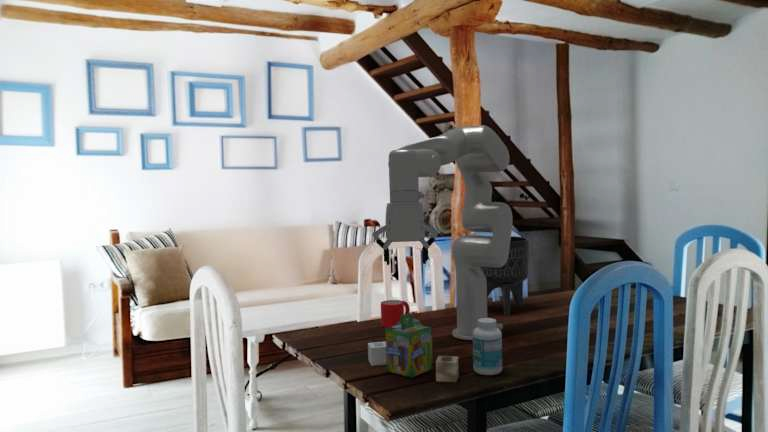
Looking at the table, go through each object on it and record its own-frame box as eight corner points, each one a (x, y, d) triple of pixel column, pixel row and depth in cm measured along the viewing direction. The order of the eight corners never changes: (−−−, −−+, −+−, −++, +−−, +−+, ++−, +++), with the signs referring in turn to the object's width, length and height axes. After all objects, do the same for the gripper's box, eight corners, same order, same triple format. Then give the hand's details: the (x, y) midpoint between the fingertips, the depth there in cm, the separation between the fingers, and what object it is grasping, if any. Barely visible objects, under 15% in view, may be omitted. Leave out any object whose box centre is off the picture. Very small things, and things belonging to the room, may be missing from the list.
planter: (536, 315, 211) (535, 241, 209) (480, 317, 211) (478, 243, 209) (523, 303, 231) (522, 235, 229) (472, 304, 231) (471, 237, 229)
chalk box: (411, 379, 151) (410, 321, 150) (385, 371, 157) (383, 316, 156) (434, 369, 157) (433, 314, 156) (407, 362, 164) (406, 309, 163)
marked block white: (385, 358, 168) (385, 340, 167) (389, 364, 163) (389, 345, 163) (368, 360, 167) (367, 342, 166) (371, 366, 162) (371, 347, 162)
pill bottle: (470, 367, 158) (469, 317, 157) (497, 365, 159) (496, 315, 158) (477, 377, 151) (476, 324, 150) (505, 375, 151) (505, 322, 150)
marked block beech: (458, 375, 152) (458, 355, 152) (456, 382, 147) (455, 362, 147) (439, 374, 153) (438, 354, 153) (436, 381, 149) (435, 361, 148)
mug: (417, 322, 207) (416, 299, 207) (393, 329, 199) (392, 306, 198) (400, 318, 213) (399, 296, 212) (376, 325, 204) (375, 302, 204)
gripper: (436, 196, 158) (437, 260, 159) (370, 198, 158) (372, 262, 159) (439, 197, 150) (441, 265, 152) (370, 199, 150) (372, 267, 151)
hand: (406, 263), depth 155 cm, fingers open, 9 cm apart
